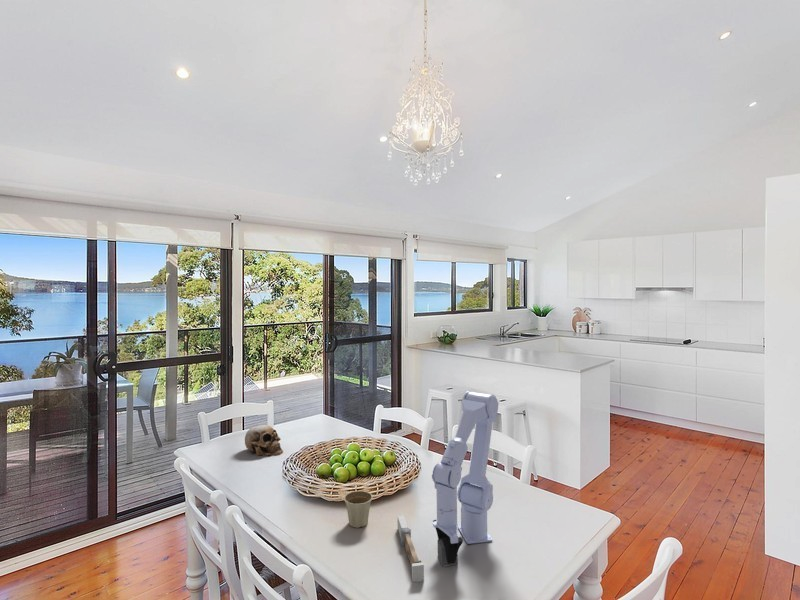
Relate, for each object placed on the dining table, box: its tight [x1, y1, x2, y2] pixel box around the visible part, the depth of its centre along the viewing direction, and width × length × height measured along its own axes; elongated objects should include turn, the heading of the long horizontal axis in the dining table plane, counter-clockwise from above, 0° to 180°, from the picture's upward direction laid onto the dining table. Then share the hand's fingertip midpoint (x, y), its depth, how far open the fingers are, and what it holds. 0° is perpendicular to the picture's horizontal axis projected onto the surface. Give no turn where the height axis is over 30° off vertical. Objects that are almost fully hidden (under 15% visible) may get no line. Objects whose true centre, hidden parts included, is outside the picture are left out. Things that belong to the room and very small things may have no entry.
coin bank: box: [244, 424, 284, 457], centre depth 209 cm, size 16×17×13 cm
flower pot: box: [343, 490, 374, 528], centre depth 142 cm, size 9×9×9 cm
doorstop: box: [437, 539, 459, 567], centre depth 121 cm, size 4×4×5 cm
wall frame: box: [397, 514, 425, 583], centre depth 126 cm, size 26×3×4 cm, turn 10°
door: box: [404, 534, 422, 568], centre depth 121 cm, size 14×2×4 cm, turn 10°
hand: (447, 554), depth 121 cm, fingers open, 7 cm apart
